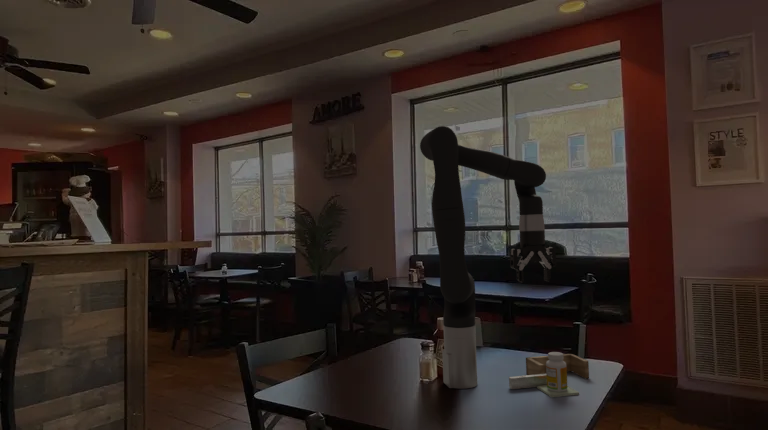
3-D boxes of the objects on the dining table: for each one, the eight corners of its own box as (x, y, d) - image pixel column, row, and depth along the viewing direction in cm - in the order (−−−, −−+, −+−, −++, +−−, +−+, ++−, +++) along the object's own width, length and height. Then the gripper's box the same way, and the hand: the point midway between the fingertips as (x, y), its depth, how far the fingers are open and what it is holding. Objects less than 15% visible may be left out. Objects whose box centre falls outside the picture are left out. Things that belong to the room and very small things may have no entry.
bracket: (540, 382, 150) (539, 365, 150) (526, 373, 159) (525, 357, 159) (589, 378, 152) (588, 361, 152) (572, 369, 161) (571, 353, 161)
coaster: (551, 397, 137) (551, 395, 137) (537, 388, 145) (537, 386, 145) (579, 394, 138) (579, 392, 138) (563, 385, 146) (563, 383, 146)
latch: (511, 389, 144) (511, 374, 144) (509, 387, 145) (508, 373, 146) (558, 384, 146) (557, 370, 146) (555, 383, 148) (554, 369, 148)
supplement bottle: (565, 386, 144) (563, 351, 144) (569, 392, 138) (568, 355, 139) (545, 386, 144) (543, 351, 144) (549, 392, 139) (547, 356, 139)
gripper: (515, 230, 155) (517, 284, 155) (559, 228, 158) (561, 281, 157) (505, 230, 163) (507, 281, 162) (547, 228, 165) (549, 279, 165)
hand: (534, 281), depth 160 cm, fingers open, 8 cm apart
